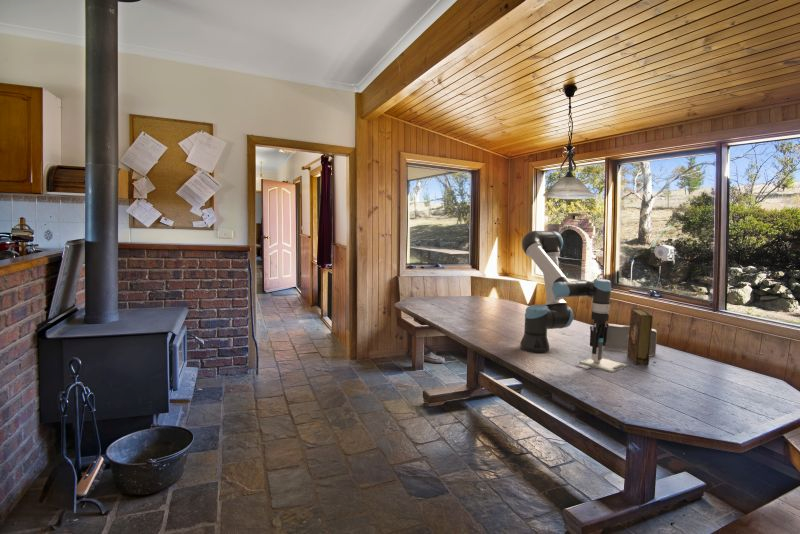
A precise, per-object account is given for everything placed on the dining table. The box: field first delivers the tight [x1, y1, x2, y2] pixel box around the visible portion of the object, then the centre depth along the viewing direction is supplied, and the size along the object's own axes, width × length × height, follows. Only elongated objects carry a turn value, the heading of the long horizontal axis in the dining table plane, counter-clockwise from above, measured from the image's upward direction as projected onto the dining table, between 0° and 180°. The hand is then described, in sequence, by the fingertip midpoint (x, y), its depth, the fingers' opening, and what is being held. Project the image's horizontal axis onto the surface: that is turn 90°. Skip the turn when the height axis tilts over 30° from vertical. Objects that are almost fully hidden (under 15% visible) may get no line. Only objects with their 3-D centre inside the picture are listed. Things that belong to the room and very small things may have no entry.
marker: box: [594, 337, 604, 363], centre depth 217 cm, size 4×4×12 cm
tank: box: [603, 323, 658, 357], centre depth 245 cm, size 25×16×12 cm, turn 62°
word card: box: [575, 363, 593, 370], centre depth 214 cm, size 6×4×1 cm, turn 39°
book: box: [626, 307, 654, 366], centre depth 224 cm, size 16×6×25 cm, turn 168°
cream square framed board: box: [579, 356, 628, 373], centre depth 218 cm, size 16×15×1 cm
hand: (596, 359), depth 217 cm, fingers closed on marker, 4 cm apart
